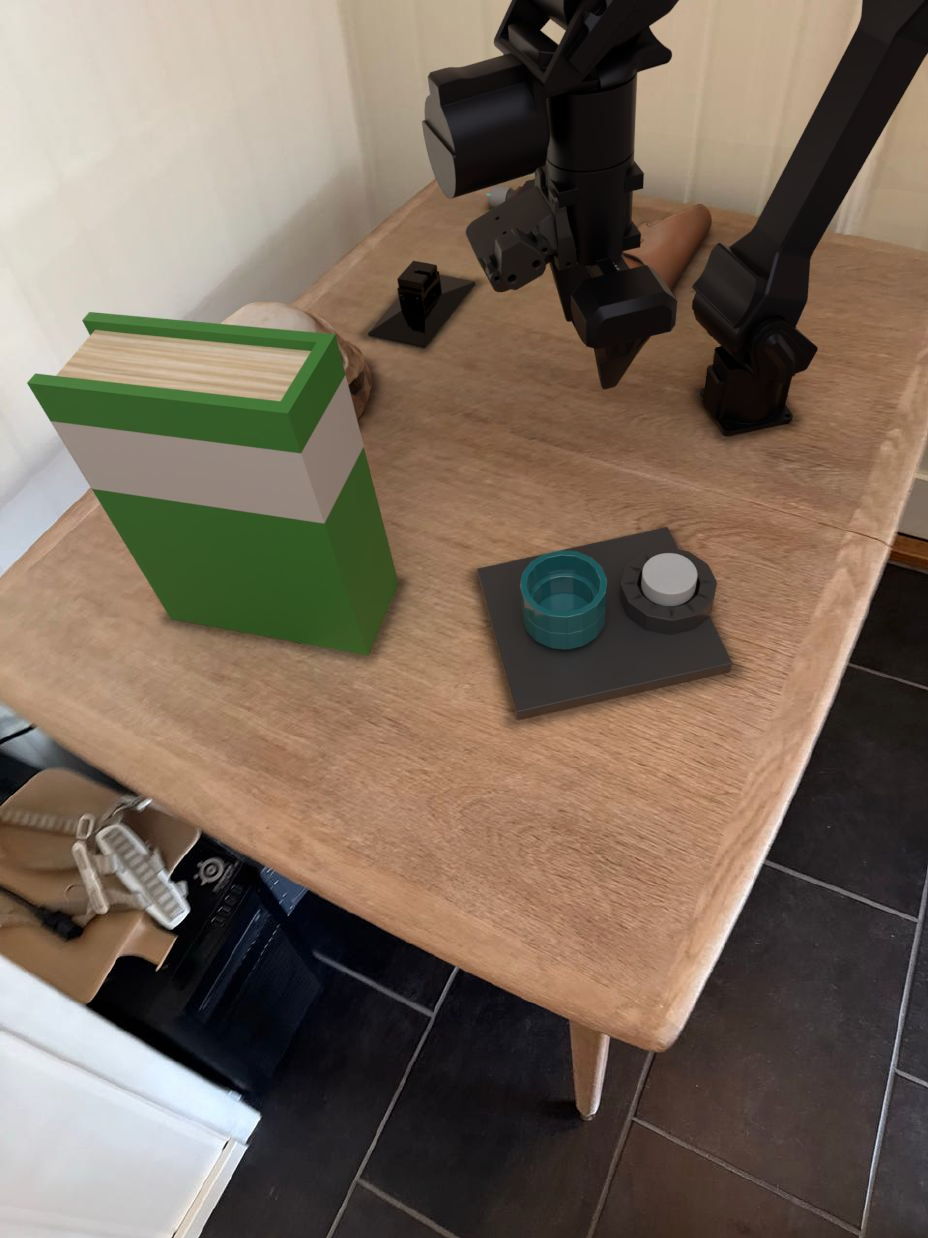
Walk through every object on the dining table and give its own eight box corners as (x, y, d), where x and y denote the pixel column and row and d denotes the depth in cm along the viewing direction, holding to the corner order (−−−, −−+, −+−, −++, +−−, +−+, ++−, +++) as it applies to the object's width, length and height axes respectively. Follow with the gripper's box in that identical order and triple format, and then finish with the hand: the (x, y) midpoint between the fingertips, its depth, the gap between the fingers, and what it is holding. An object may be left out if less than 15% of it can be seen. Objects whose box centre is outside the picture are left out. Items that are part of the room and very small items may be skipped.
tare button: (684, 561, 67) (686, 547, 66) (703, 600, 65) (705, 587, 64) (634, 572, 67) (635, 559, 66) (651, 612, 65) (652, 599, 64)
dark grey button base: (677, 533, 73) (680, 508, 70) (743, 669, 64) (749, 646, 62) (477, 577, 72) (474, 553, 70) (517, 721, 63) (514, 699, 61)
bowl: (591, 581, 69) (592, 542, 65) (615, 642, 65) (617, 605, 62) (515, 598, 69) (511, 560, 65) (534, 661, 65) (532, 625, 61)
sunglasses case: (638, 219, 101) (671, 173, 95) (686, 256, 102) (722, 213, 96) (579, 307, 92) (612, 262, 86) (633, 347, 93) (669, 305, 87)
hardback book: (170, 618, 73) (26, 382, 54) (210, 552, 77) (89, 311, 58) (368, 655, 68) (287, 413, 49) (398, 583, 72) (335, 334, 53)
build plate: (425, 350, 92) (418, 311, 88) (365, 337, 94) (356, 298, 90) (476, 283, 98) (472, 244, 94) (419, 273, 100) (413, 234, 97)
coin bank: (368, 351, 92) (336, 239, 80) (388, 475, 83) (356, 369, 71) (222, 383, 92) (170, 276, 81) (226, 510, 83) (169, 410, 72)
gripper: (440, 118, 62) (464, 310, 75) (506, 251, 51) (522, 452, 63) (590, 83, 63) (590, 281, 75) (689, 208, 51) (670, 416, 64)
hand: (589, 352), depth 69 cm, fingers open, 9 cm apart
